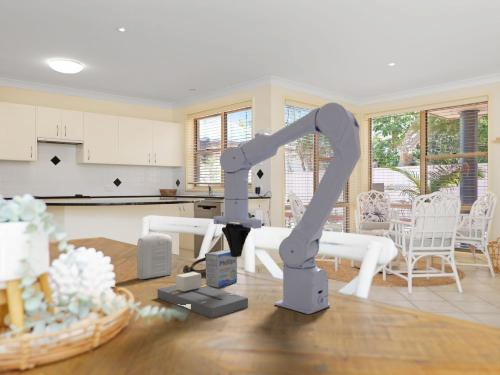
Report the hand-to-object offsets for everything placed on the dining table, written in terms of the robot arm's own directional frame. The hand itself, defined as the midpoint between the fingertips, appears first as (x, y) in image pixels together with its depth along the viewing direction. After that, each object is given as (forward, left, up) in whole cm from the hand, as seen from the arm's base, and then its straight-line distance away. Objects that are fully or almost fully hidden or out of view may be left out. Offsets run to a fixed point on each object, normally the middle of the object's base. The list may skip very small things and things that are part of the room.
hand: (236, 256), depth 94 cm
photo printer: (+31, +3, -10) cm, 33 cm away
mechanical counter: (+24, -10, -10) cm, 28 cm away
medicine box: (+11, -5, -10) cm, 15 cm away
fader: (+7, +9, -7) cm, 13 cm away
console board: (+2, +9, -9) cm, 13 cm away
